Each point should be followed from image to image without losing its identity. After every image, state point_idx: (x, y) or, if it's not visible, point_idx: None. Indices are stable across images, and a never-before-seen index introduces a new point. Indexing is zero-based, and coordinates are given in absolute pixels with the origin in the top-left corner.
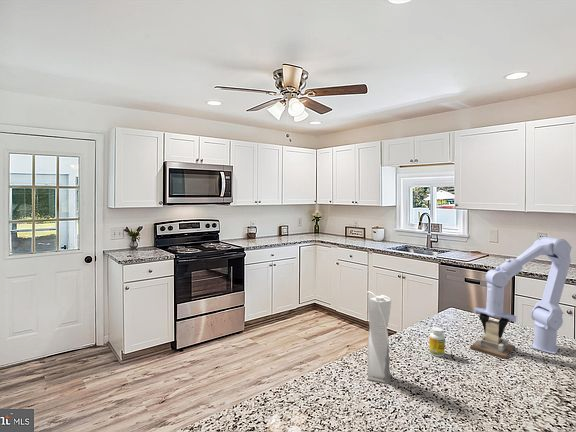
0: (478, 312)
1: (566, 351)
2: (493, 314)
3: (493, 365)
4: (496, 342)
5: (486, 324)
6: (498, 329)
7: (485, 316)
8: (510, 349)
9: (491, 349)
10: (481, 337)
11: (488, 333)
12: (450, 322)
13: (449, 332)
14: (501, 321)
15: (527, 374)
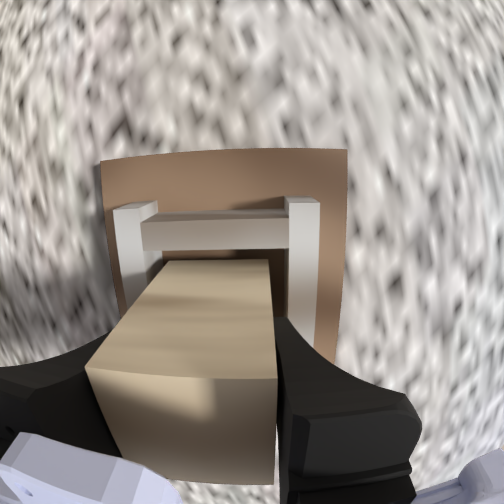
0: (440, 497)
1: None
2: (28, 492)
3: (138, 12)
4: (171, 267)
5: (266, 355)
6: (111, 335)
7: (311, 480)
8: (123, 315)
9: (204, 211)
10: (309, 294)
11: (237, 295)
12: (470, 436)
13: (485, 331)
14: (1, 386)
15: (7, 74)
